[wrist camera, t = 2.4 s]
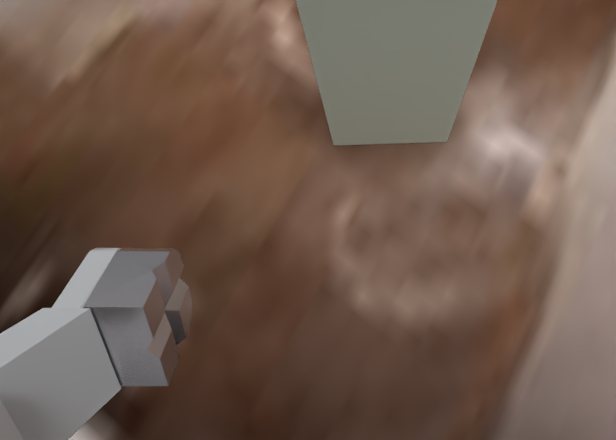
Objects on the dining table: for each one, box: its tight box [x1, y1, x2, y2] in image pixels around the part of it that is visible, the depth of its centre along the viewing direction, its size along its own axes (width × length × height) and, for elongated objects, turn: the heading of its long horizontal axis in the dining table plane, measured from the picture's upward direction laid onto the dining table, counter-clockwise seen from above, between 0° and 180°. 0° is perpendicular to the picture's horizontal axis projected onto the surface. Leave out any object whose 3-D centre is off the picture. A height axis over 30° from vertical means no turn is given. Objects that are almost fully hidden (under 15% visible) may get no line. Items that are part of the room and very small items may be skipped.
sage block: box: [296, 0, 497, 145], centre depth 20 cm, size 5×5×13 cm
